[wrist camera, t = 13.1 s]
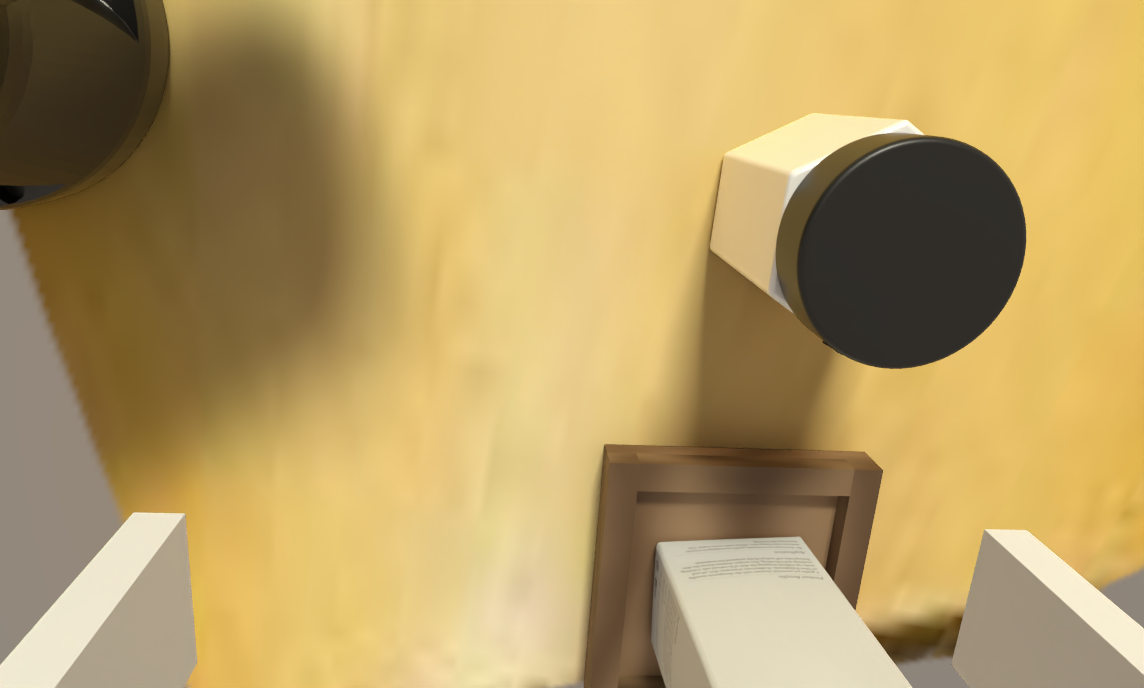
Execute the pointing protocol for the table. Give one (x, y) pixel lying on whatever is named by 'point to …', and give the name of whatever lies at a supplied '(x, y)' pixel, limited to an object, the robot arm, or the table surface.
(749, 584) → the skincare box
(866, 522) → the brown wooden tray
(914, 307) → the jar
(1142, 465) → the table surface
